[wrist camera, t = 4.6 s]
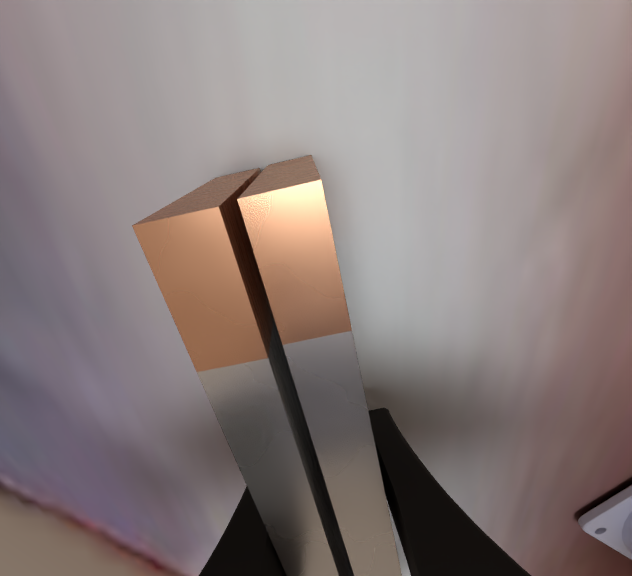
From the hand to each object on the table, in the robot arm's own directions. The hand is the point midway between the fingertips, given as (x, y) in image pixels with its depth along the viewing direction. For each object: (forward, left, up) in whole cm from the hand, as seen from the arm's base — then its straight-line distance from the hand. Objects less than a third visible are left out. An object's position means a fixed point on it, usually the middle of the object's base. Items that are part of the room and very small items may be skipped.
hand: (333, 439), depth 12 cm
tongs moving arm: (+1, 0, -1) cm, 1 cm away
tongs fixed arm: (-1, +1, -2) cm, 2 cm away
